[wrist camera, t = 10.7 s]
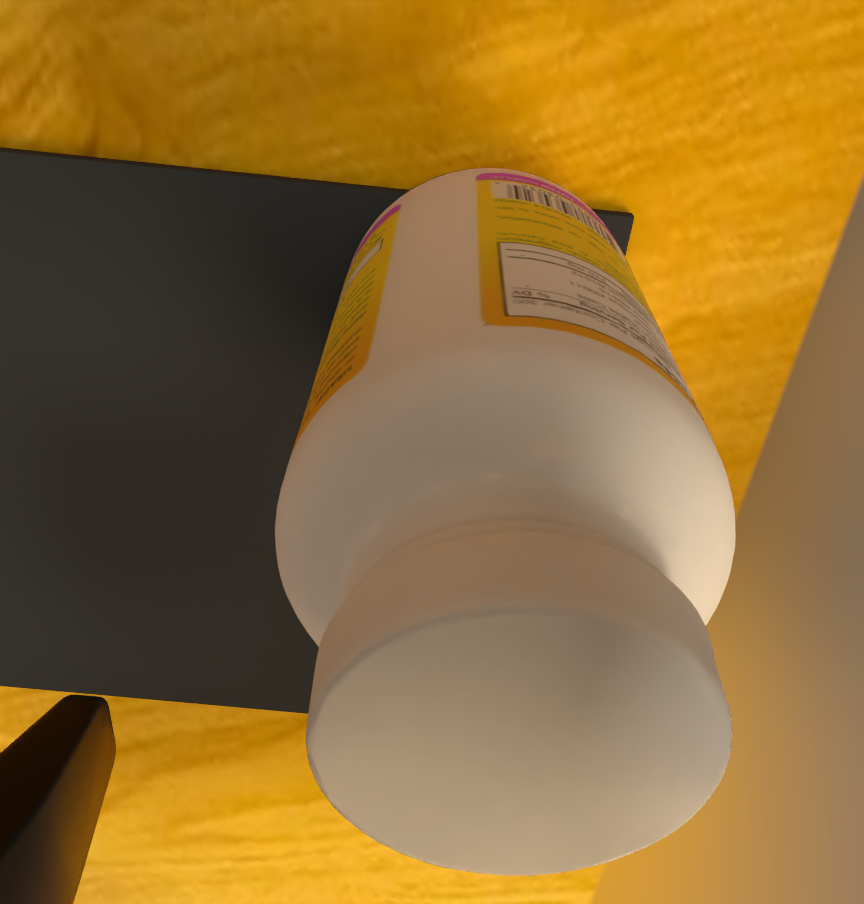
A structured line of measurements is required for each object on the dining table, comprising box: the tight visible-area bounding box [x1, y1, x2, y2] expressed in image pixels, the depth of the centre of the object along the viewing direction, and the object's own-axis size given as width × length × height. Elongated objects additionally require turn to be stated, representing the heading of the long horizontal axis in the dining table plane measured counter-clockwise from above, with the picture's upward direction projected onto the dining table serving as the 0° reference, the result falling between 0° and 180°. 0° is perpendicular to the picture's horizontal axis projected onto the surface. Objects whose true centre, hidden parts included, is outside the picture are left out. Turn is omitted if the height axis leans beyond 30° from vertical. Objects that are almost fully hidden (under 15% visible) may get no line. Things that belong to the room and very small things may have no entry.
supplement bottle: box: [275, 168, 736, 876], centre depth 14 cm, size 7×7×13 cm
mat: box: [0, 148, 634, 713], centre depth 23 cm, size 18×18×1 cm
